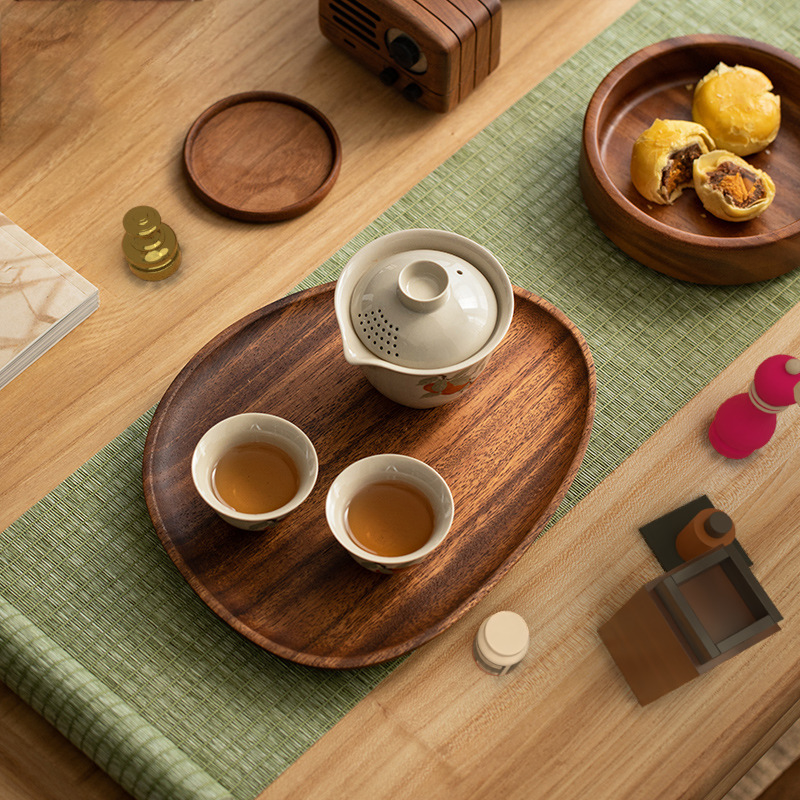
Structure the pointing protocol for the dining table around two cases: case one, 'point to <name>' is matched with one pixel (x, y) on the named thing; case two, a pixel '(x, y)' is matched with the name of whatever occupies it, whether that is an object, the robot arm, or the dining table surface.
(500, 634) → the pill bottle
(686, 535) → the amber bottle
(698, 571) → the stand
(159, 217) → the brass knob weight
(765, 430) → the pepper mill
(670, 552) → the slate mat
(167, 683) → the dining table surface
